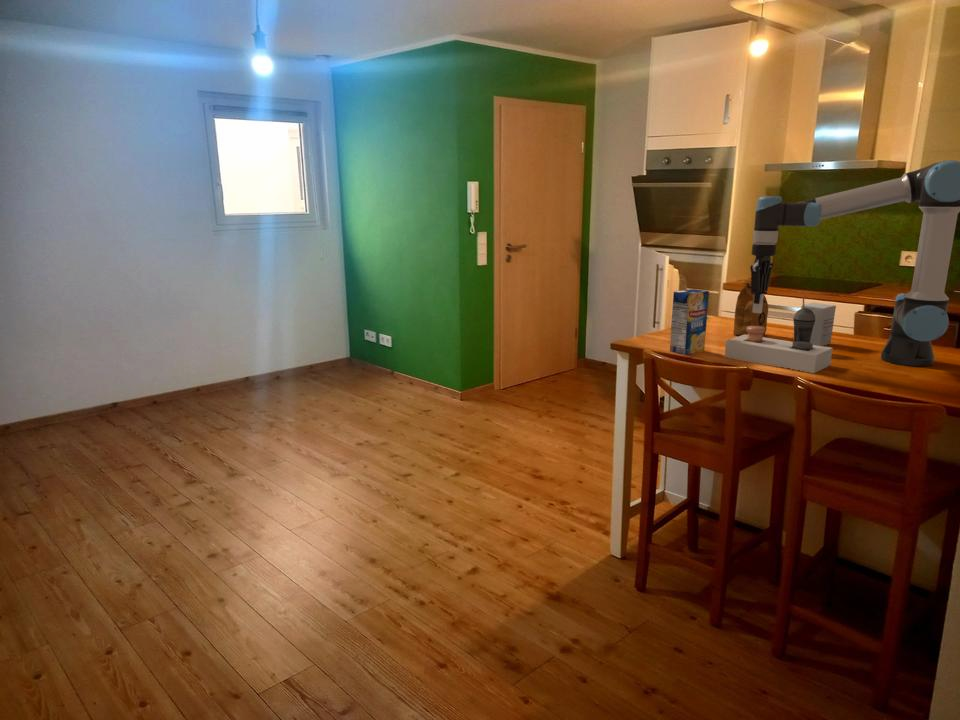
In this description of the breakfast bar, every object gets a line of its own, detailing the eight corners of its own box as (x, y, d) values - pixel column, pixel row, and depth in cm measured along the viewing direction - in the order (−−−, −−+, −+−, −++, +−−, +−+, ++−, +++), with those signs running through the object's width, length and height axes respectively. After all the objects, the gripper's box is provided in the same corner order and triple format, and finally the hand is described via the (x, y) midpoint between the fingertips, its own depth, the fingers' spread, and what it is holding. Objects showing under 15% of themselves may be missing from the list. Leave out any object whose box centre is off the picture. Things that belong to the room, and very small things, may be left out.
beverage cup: (814, 353, 232) (821, 298, 227) (792, 352, 233) (798, 297, 228) (808, 348, 239) (815, 295, 234) (787, 348, 240) (793, 294, 235)
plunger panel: (830, 365, 216) (832, 347, 214) (814, 373, 207) (816, 355, 205) (742, 350, 237) (744, 334, 236) (724, 357, 228) (726, 340, 226)
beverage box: (669, 351, 237) (673, 291, 231) (689, 347, 243) (693, 288, 237) (684, 355, 231) (689, 294, 226) (704, 350, 237) (709, 291, 232)
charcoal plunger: (813, 359, 216) (815, 343, 214) (806, 363, 212) (808, 346, 210) (795, 356, 220) (797, 340, 218) (787, 359, 216) (789, 343, 215)
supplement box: (796, 343, 247) (800, 304, 244) (807, 340, 253) (812, 302, 249) (820, 347, 240) (825, 307, 237) (831, 344, 246) (836, 305, 242)
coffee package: (770, 335, 261) (775, 281, 256) (750, 339, 255) (755, 283, 249) (748, 331, 269) (753, 278, 264) (729, 334, 263) (733, 280, 258)
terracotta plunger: (766, 343, 226) (768, 327, 225) (759, 346, 222) (760, 330, 221) (749, 340, 230) (751, 325, 229) (742, 343, 226) (743, 327, 225)
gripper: (762, 241, 225) (754, 308, 231) (744, 243, 216) (737, 313, 222) (784, 243, 219) (775, 311, 225) (767, 245, 211) (759, 316, 217)
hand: (757, 312), depth 224 cm, fingers closed
